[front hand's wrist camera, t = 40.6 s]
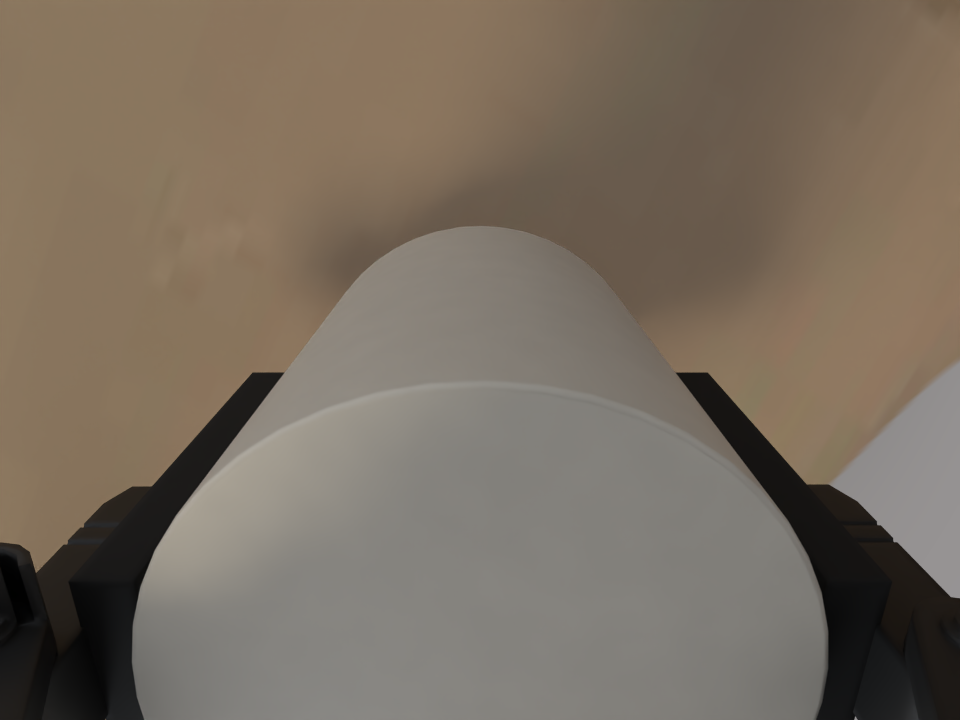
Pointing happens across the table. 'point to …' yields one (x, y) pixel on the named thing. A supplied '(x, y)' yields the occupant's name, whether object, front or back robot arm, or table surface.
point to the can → (480, 522)
